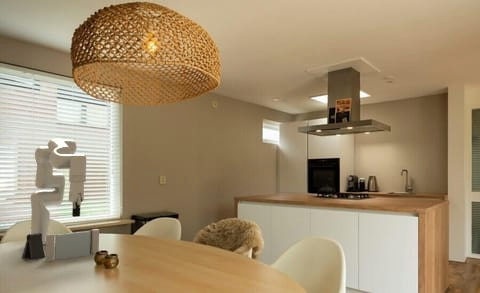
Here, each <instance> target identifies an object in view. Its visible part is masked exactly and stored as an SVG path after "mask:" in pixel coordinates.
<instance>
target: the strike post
mask: <svg viewBox="0 0 480 293" xmlns="http://www.w3.org/2000/svg"><path fill="white" fill-rule="evenodd" d="M55 236H56V234H55V233H49V234H47V236H46V244H45V262H53V261H54V260H55Z"/></svg>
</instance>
